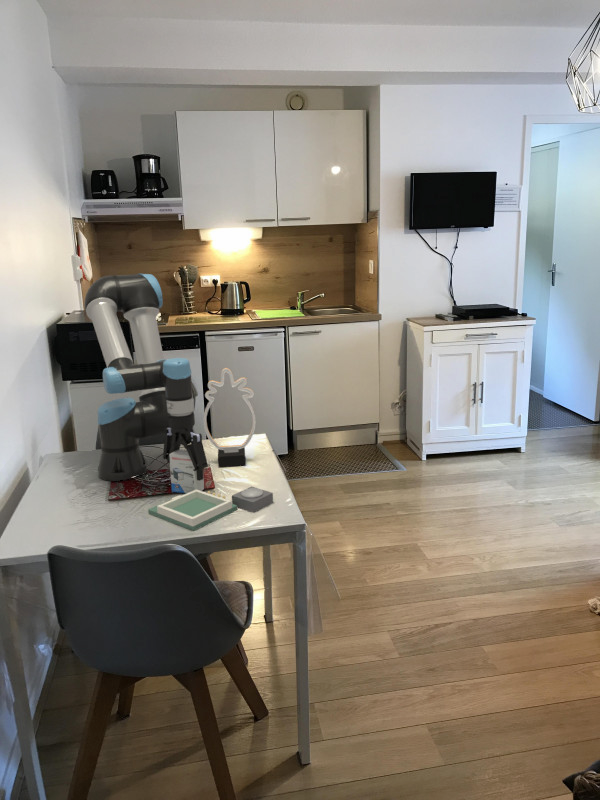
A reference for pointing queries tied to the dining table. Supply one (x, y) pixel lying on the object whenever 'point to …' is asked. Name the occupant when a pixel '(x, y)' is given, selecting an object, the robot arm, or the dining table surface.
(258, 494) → the push button
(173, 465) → the ink box
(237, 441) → the dining table surface
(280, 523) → the dining table surface
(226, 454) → the lamp
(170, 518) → the board
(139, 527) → the dining table surface
